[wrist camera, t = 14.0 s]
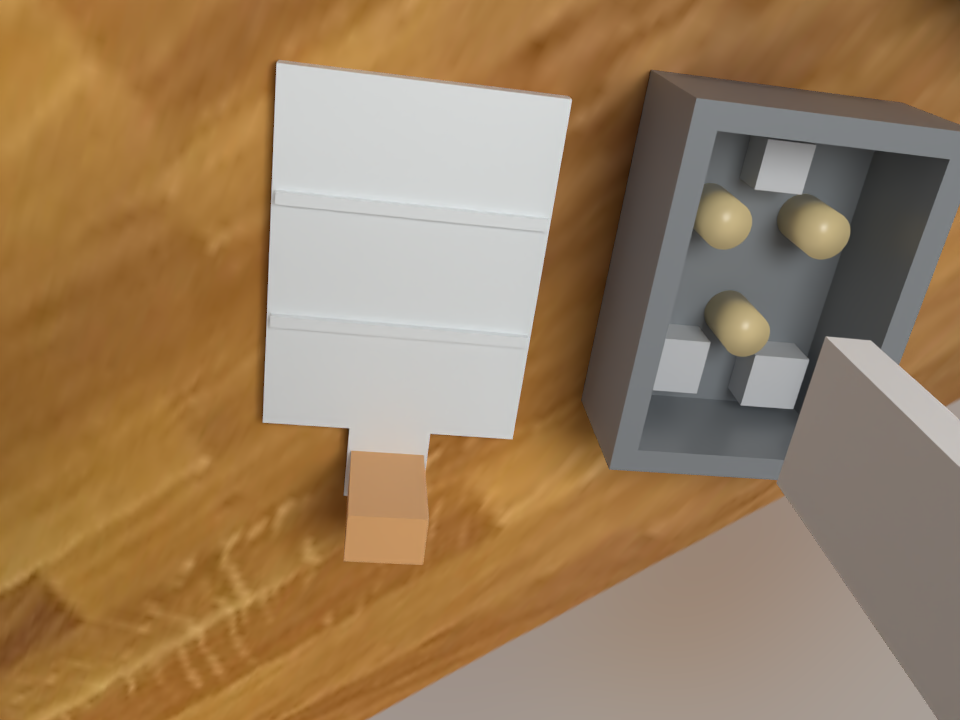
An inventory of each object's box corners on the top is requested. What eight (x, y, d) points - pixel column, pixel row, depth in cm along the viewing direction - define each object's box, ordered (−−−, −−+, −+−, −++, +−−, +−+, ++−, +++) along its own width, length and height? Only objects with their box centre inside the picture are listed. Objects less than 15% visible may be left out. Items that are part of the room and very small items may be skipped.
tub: (581, 400, 51) (609, 469, 45) (651, 69, 43) (696, 97, 37) (797, 416, 53) (853, 484, 47) (902, 102, 45) (985, 134, 39)
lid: (262, 480, 51) (246, 559, 45) (278, 59, 42) (260, 85, 35) (498, 494, 53) (514, 572, 47) (568, 95, 44) (599, 126, 37)
